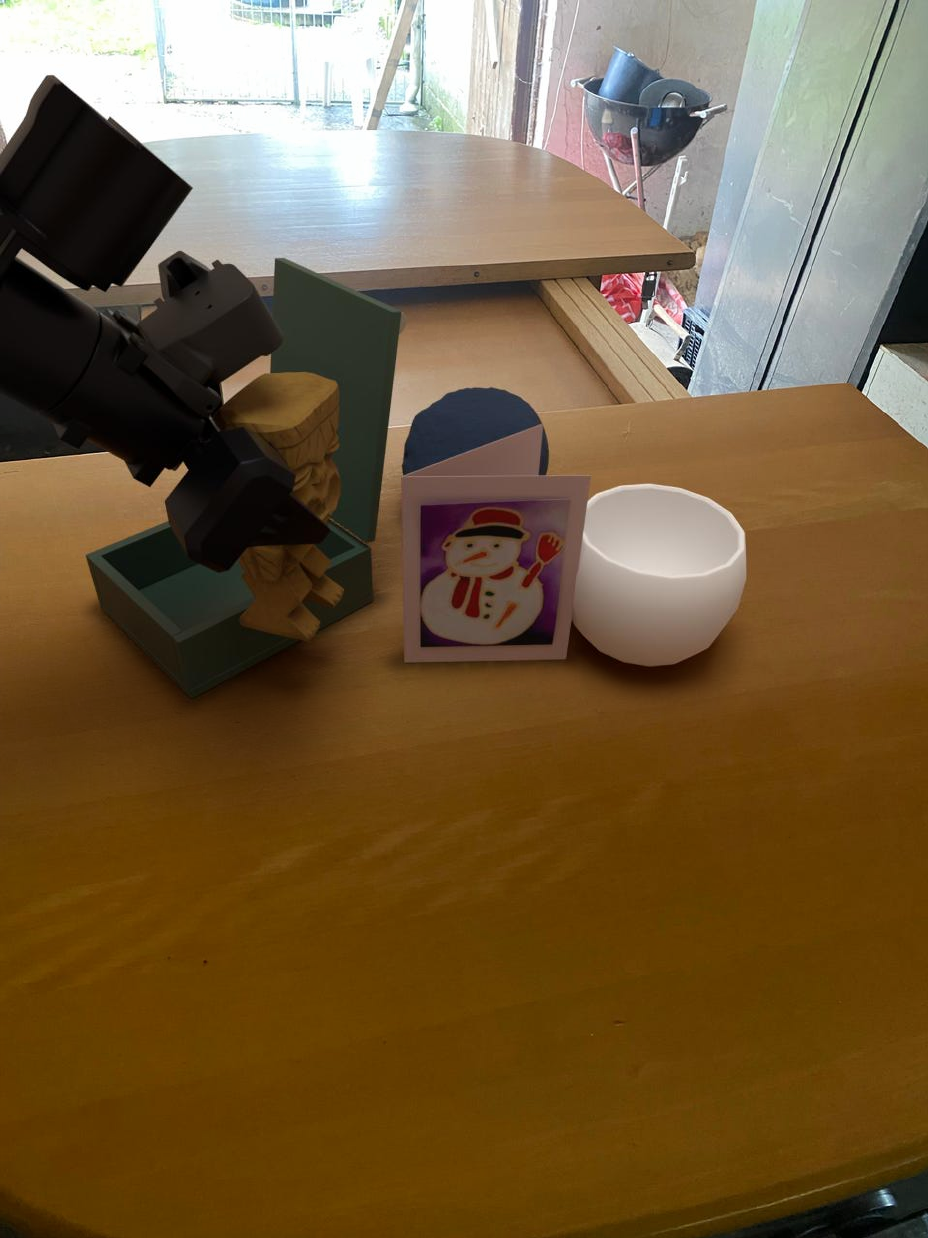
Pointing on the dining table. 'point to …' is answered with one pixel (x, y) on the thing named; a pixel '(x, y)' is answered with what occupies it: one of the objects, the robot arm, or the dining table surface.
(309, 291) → the box lid
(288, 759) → the dining table surface
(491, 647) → the greeting card
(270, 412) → the figurine
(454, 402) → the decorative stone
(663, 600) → the cup
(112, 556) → the green open box
